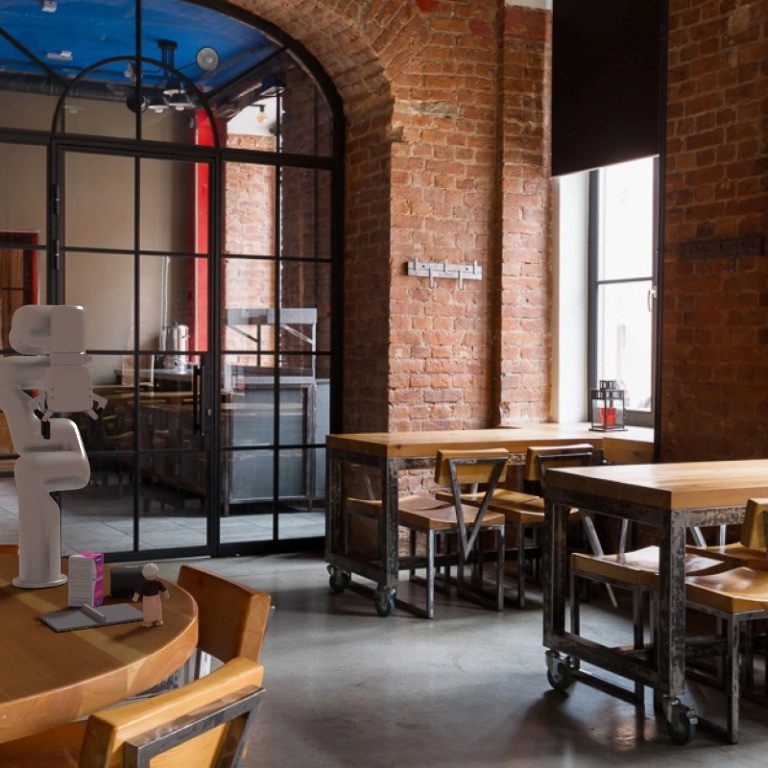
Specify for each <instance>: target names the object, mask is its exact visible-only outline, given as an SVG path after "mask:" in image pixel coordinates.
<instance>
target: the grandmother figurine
mask: <svg viewBox="0 0 768 768" xmlns="http://www.w3.org/2000/svg"><path fill="white" fill-rule="evenodd" d="M143 566H144V567H143V570H142V573H143V576H144V577H145V579H146V580H148V581H147V582H144V583H142V584H140V585H139V586H138V588H137V589H136V591H135V594H134V597H132V599H131V600H132V601H133V602H138V599H139V597H141V596H140V595H142V594H144V595H143V596H142V612H143V619H144V620H143V622H141V626H142V625H143V626H142V627H144V626H146V627H145V628H151V627H150V626H152V627H153V626H154V625H155V626H163V625H164V622H163V620H162V619H163V616H162V614H163V612H162V611H163V610H162V602H161V597H160V596H161V595H160V592H161V593H162V595H163V596H164V598H165V600H166V599H169V598H170V594H169V591H168V590H167V587H166V585H164V583H163V582H161V580H157V577H158V575H159V574H160V573H159V572H160V570H159V568H158V565H157V563H147V564H145V565H143ZM155 578H156V580H155ZM153 623H154V624H153Z"/></svg>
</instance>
